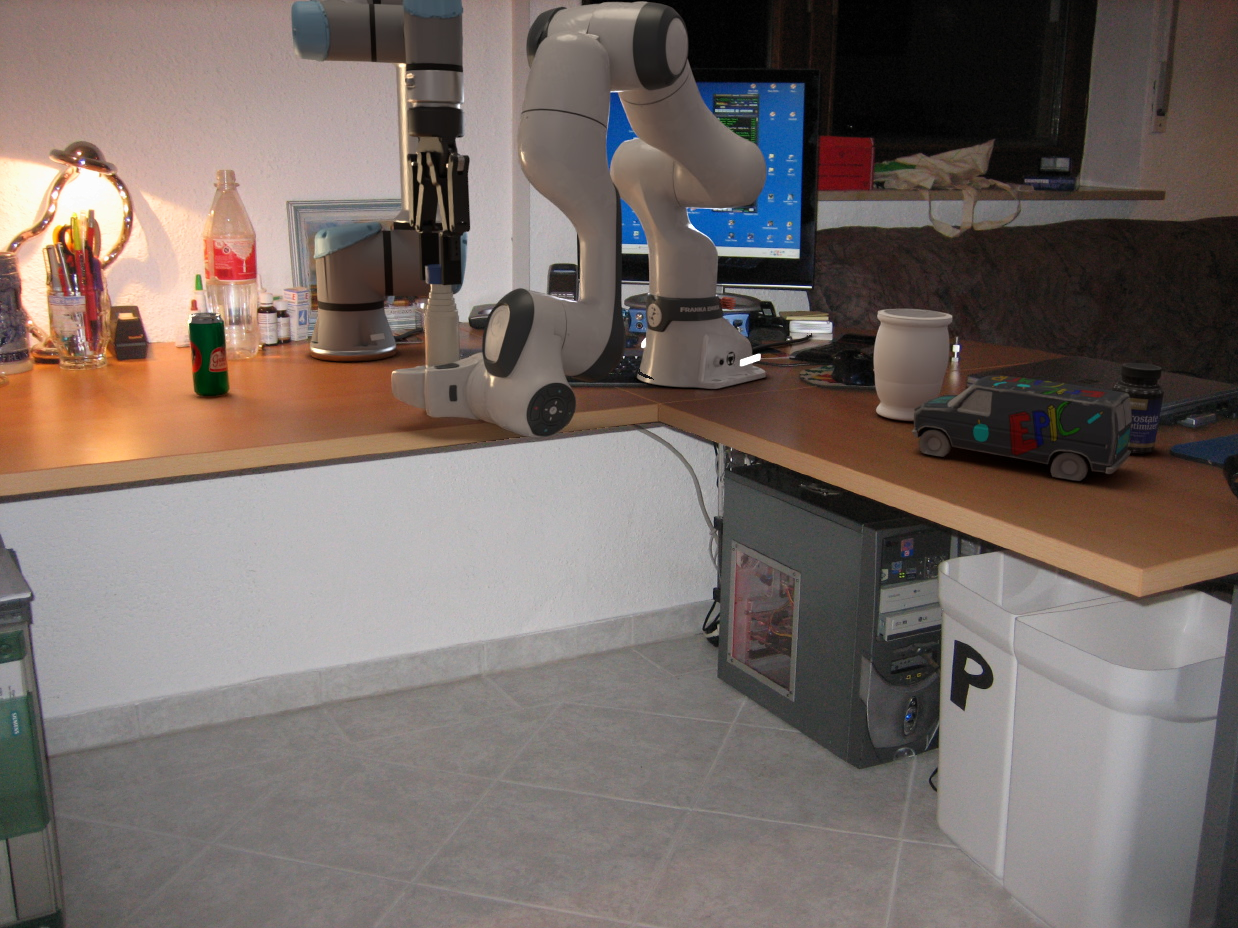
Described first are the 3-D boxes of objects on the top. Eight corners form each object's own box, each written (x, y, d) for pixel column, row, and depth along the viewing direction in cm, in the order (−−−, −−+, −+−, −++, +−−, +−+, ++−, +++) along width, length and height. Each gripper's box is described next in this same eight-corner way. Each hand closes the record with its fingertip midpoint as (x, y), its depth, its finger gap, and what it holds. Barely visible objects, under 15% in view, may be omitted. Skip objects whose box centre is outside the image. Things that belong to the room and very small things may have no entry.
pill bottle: (1117, 454, 138) (1130, 370, 135) (1094, 442, 144) (1106, 361, 140) (1163, 454, 138) (1177, 370, 135) (1139, 442, 144) (1152, 361, 141)
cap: (428, 284, 146) (427, 267, 145) (423, 281, 150) (423, 264, 149) (458, 284, 147) (457, 267, 147) (452, 280, 151) (452, 264, 150)
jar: (854, 409, 159) (862, 309, 155) (910, 404, 163) (920, 306, 159) (898, 426, 150) (909, 320, 146) (957, 420, 154) (969, 317, 150)
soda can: (218, 398, 158) (211, 317, 155) (187, 396, 159) (179, 316, 156) (236, 391, 163) (230, 313, 160) (206, 389, 164) (199, 311, 161)
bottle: (440, 417, 150) (436, 273, 145) (420, 411, 154) (415, 270, 148) (468, 412, 154) (464, 271, 148) (447, 406, 157) (443, 268, 151)
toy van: (934, 435, 146) (942, 362, 143) (1130, 468, 132) (1143, 388, 129) (905, 451, 137) (912, 375, 134) (1110, 488, 123) (1124, 404, 121)
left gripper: (379, 107, 147) (386, 276, 153) (443, 104, 133) (448, 291, 139) (428, 109, 151) (433, 274, 158) (496, 106, 137) (498, 287, 144)
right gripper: (553, 356, 147) (502, 341, 158) (418, 371, 135) (373, 354, 146) (553, 400, 149) (503, 383, 160) (420, 419, 137) (375, 399, 148)
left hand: (440, 281), depth 149 cm, fingers open, 6 cm apart
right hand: (439, 369), depth 153 cm, fingers closed on bottle, 5 cm apart
